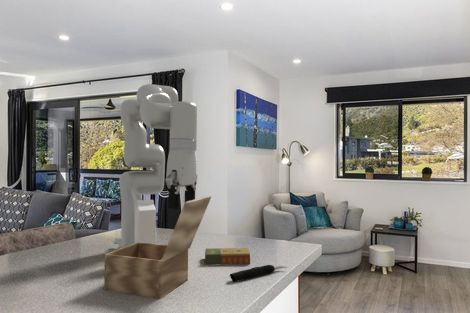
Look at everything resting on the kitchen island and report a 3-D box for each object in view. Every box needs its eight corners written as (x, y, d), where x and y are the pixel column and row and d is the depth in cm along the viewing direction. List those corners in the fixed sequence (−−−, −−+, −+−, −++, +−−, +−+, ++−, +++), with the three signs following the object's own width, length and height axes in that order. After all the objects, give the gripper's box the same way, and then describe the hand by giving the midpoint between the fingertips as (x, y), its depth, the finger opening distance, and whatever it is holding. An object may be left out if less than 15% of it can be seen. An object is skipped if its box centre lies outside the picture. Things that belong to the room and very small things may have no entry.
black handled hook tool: (279, 269, 126) (279, 260, 126) (287, 272, 123) (288, 263, 123) (228, 281, 113) (228, 271, 113) (236, 285, 110) (236, 275, 110)
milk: (155, 263, 131) (156, 200, 131) (138, 265, 128) (139, 201, 128) (150, 258, 136) (151, 198, 136) (133, 260, 133) (134, 199, 133)
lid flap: (185, 201, 96) (187, 202, 96) (209, 195, 111) (211, 196, 111) (161, 260, 98) (162, 261, 98) (188, 246, 113) (189, 247, 113)
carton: (250, 265, 131) (250, 253, 131) (204, 265, 130) (204, 253, 129) (247, 258, 139) (248, 247, 139) (204, 259, 138) (205, 247, 138)
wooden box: (104, 290, 104) (104, 254, 104) (137, 273, 119) (137, 242, 119) (160, 298, 98) (161, 261, 98) (187, 280, 113) (188, 247, 113)
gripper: (184, 146, 114) (184, 201, 115) (155, 145, 98) (154, 209, 98) (207, 146, 112) (206, 203, 112) (180, 145, 96) (179, 211, 96)
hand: (182, 206), depth 105 cm, fingers open, 9 cm apart
